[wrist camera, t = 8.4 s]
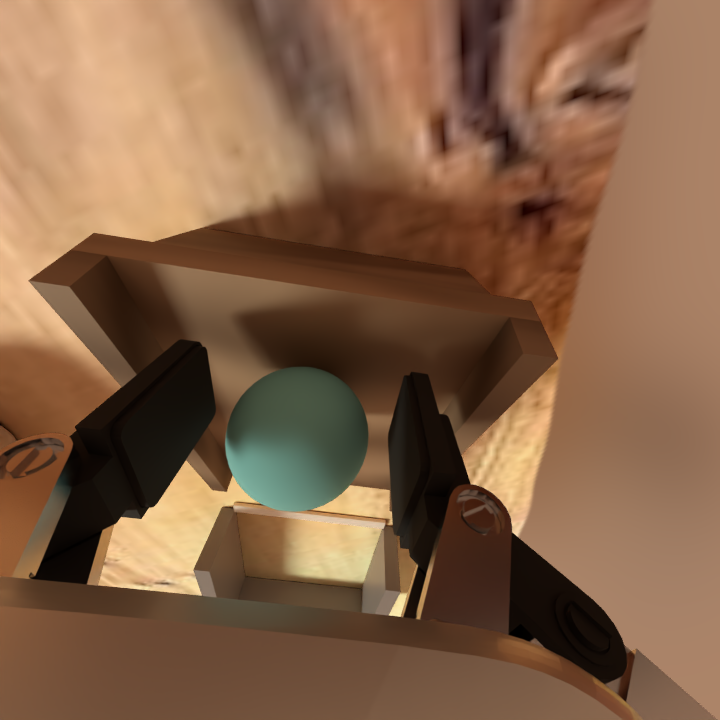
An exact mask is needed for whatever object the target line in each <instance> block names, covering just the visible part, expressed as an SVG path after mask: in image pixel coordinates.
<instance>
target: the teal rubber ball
mask: <svg viewBox="0 0 720 720" xmlns="http://www.w3.org/2000/svg"><path fill="white" fill-rule="evenodd" d="M368 437H369V432H368V423H367V418H366V415H365V412H364V409H363V407H362V405H361V403H360V401H359V399H358V397H357V396H356V395H355V393H354V392H353V391H352V389H351V388H350V387H349V386H348V385H347V384H346V383H344V382H343V381H342V380H341V379H339V378H338V377H336V376H334V375H333V374H331V373H329V372H326V371H323V370H321V369H317V368H312V367H290V368H285V369H280V370H278V371H275V372H272V373H270V374H268V375H266V376H264V377H262V378H261V379H259V380H258V381H257V382H255V383H254V384H253V385H252V386H251V387H249V388H248V389H247V390H246V391H245V393H244V394H243V395H242V396H241V397H240V399H239V400H238V402H237V404H236V405H235V407H234V409H233V411H232V413H231V416H230V419H229V422H228V425H227V430H226V440H225V447H226V456H227V460H228V464H229V467H230V470H231V472H232V475H233V476H234V478H235V480H236V481H237V483H238V484H239V485H240V487H241V488H242V489H243V490H244V491H245V492H246V493H247V494H248V495H249V496H250V497H251V498H252V499H254V500H256V501H257V502H259V503H261V504H262V505H265V506H267V507H270V508H272V509H275V510H280V511H289V512H300V511H306V510H311V509H314V508H317V507H320V506H322V505H325V504H326V503H328V502H330V501H332V500H333V499H335V498H336V497H338V496H339V495H340V494H342V493H343V492H344V491H345V490H346V489H347V488H348V487H349V486H350V484H351V483H352V482H353V481H354V479H355V478H356V476H357V474H358V473H359V471H360V469H361V467H362V465H363V462H364V459H365V456H366V453H367V447H368Z"/></svg>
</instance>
